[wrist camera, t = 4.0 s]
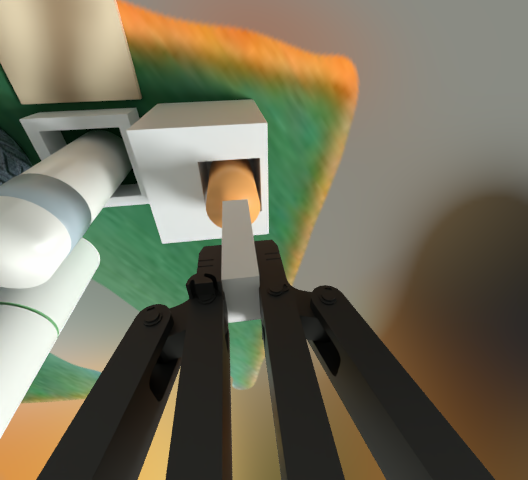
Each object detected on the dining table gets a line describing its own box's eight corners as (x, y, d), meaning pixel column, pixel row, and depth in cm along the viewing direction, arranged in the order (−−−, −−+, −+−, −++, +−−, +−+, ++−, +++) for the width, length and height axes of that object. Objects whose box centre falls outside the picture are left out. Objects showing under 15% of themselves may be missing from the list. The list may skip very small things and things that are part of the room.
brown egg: (212, 194, 23) (210, 232, 18) (206, 153, 21) (201, 184, 16) (253, 191, 23) (261, 228, 18) (251, 150, 21) (259, 180, 16)
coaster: (25, 103, 23) (21, 104, 23) (-61, -66, 17) (-69, -70, 17) (142, 98, 24) (140, 99, 24) (98, -65, 18) (95, -68, 18)
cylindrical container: (20, 247, 31) (-331, 594, 11) (64, 221, 30) (-243, 559, 10) (71, 282, 36) (-122, 582, 16) (112, 261, 34) (-40, 556, 14)
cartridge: (90, 180, 28) (-21, 293, 15) (68, 130, 25) (-96, 219, 12) (140, 177, 28) (72, 284, 16) (123, 127, 25) (23, 209, 12)
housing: (81, 198, 29) (28, 256, 21) (38, 109, 23) (-57, 140, 15) (256, 185, 31) (268, 233, 23) (252, 99, 25) (267, 122, 17)
